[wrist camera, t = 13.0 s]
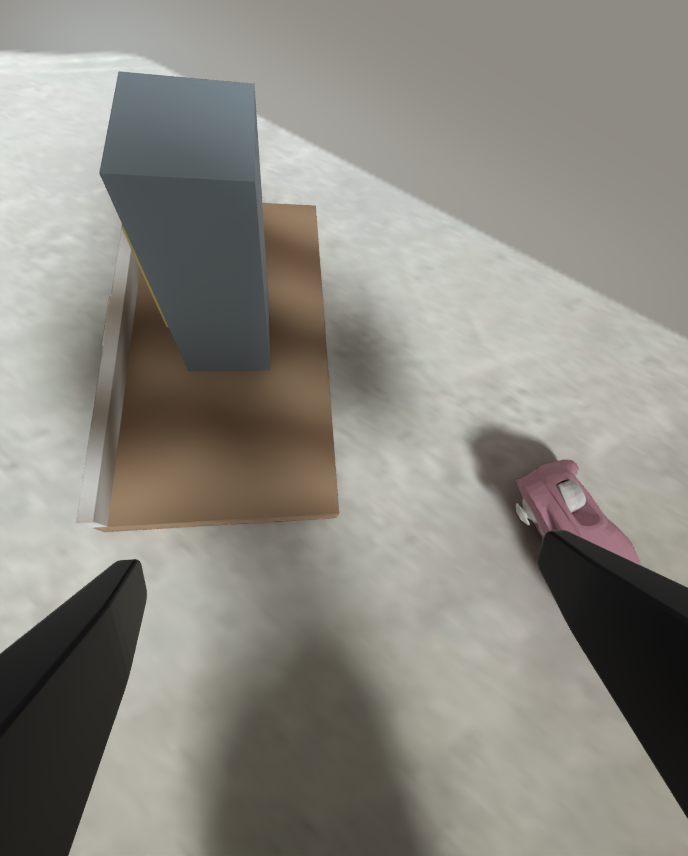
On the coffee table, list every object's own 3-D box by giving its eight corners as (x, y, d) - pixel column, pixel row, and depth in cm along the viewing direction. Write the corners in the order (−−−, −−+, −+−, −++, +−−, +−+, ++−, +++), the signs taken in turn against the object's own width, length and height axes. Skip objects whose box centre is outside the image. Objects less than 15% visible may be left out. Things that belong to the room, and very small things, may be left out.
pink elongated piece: (495, 486, 27) (503, 479, 20) (564, 455, 26) (595, 437, 19) (582, 644, 24) (623, 695, 17) (662, 614, 23) (739, 657, 16)
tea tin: (268, 300, 26) (254, 83, 15) (270, 370, 24) (254, 181, 13) (187, 299, 25) (109, 70, 14) (182, 371, 23) (88, 172, 12)
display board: (335, 517, 23) (342, 507, 20) (100, 532, 21) (71, 522, 18) (314, 223, 31) (317, 185, 28) (142, 215, 29) (126, 174, 26)
